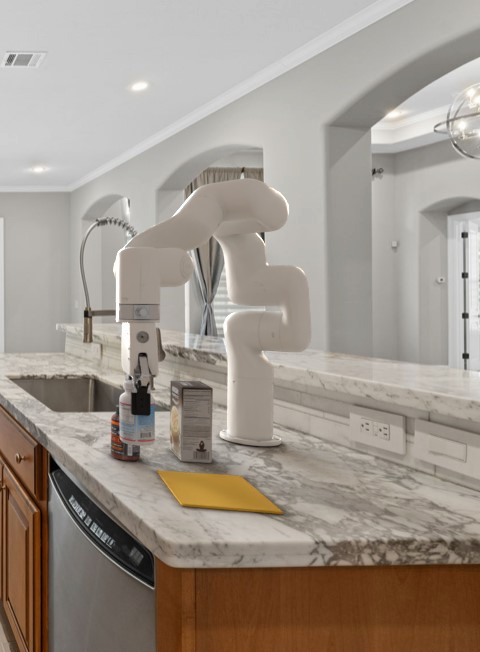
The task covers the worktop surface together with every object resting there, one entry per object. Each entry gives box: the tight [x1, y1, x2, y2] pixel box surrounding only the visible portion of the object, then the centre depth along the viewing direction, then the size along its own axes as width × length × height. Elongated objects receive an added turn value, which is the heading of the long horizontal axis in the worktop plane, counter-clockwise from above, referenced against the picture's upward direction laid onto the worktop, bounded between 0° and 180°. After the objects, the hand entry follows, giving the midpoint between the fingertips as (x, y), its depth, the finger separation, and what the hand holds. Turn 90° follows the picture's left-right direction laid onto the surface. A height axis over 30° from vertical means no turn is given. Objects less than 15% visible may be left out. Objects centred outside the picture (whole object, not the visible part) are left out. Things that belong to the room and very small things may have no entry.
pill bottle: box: [118, 380, 156, 447], centre depth 101 cm, size 6×6×11 cm
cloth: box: [156, 469, 284, 515], centre depth 98 cm, size 18×15×1 cm
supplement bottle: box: [110, 404, 141, 462], centre depth 118 cm, size 6×6×11 cm
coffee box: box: [169, 380, 214, 464], centre depth 119 cm, size 9×6×16 cm
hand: (136, 410), depth 101 cm, fingers closed on pill bottle, 6 cm apart
